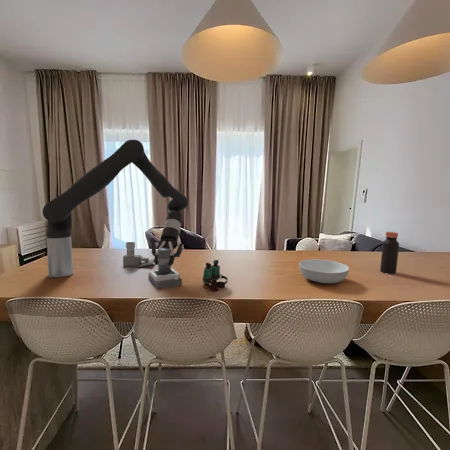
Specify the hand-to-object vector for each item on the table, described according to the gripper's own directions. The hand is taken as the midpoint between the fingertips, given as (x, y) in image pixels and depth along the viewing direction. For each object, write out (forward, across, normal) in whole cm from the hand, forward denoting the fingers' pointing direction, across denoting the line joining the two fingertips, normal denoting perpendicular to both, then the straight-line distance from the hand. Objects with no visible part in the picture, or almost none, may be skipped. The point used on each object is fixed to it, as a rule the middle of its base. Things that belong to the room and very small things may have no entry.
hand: (163, 264), depth 111 cm
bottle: (-16, +104, +28) cm, 109 cm away
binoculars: (+7, +22, +4) cm, 24 cm away
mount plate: (+5, 0, +7) cm, 8 cm away
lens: (+2, 0, +4) cm, 5 cm away
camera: (-11, -20, +23) cm, 33 cm away
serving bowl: (-4, +68, +16) cm, 70 cm away
